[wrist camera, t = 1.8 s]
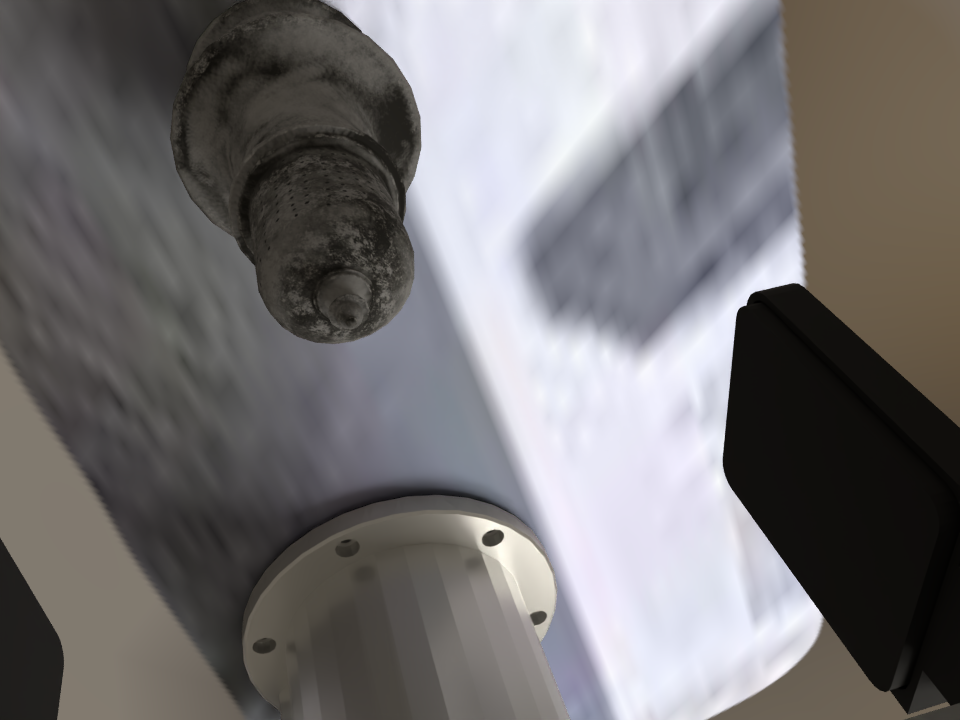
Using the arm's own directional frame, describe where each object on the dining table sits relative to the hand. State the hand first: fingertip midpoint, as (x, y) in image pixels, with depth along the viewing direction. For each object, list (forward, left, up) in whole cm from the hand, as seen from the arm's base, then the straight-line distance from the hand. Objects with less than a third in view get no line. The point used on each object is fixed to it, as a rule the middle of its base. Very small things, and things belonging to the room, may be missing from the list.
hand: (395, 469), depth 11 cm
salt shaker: (0, 0, -16) cm, 16 cm away
